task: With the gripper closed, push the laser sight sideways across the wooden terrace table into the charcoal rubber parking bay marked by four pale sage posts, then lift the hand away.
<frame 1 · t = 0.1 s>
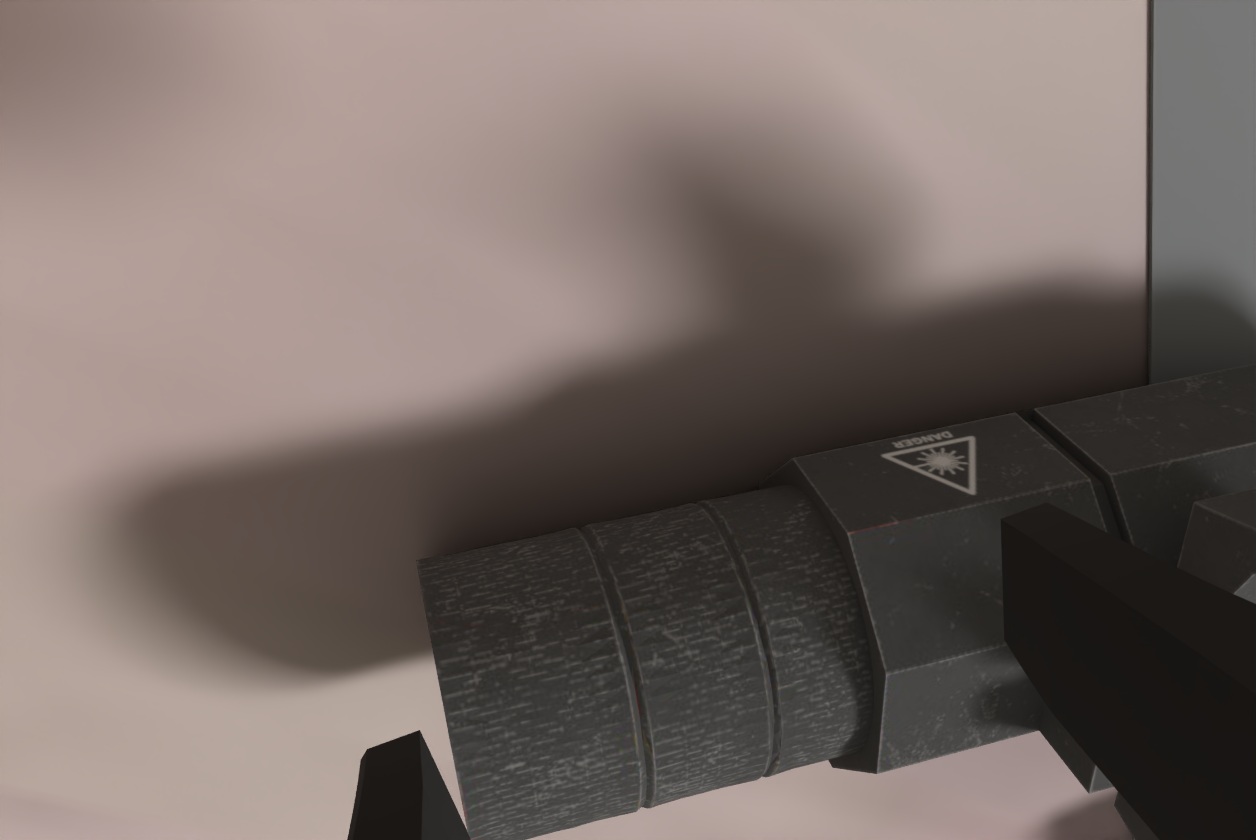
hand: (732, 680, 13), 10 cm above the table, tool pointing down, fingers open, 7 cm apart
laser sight: (900, 492, 26), on the table, touching bay
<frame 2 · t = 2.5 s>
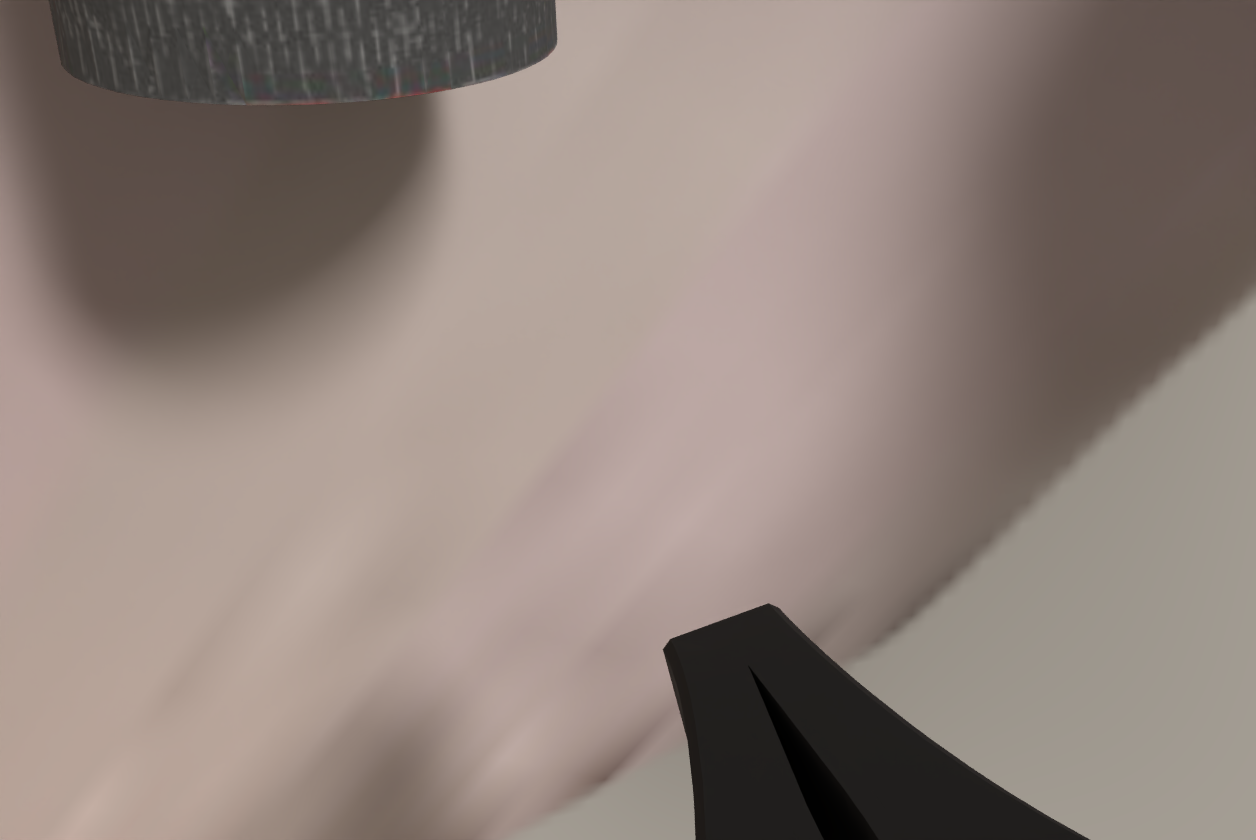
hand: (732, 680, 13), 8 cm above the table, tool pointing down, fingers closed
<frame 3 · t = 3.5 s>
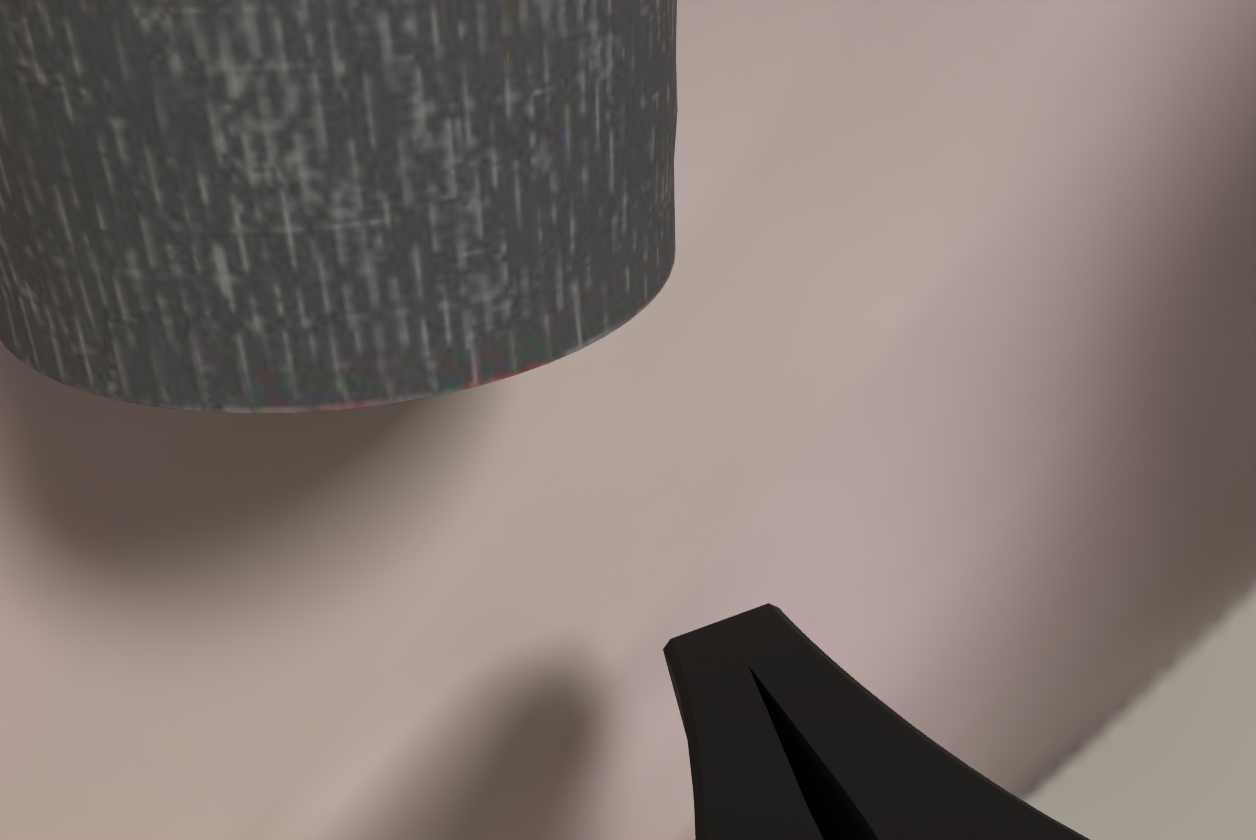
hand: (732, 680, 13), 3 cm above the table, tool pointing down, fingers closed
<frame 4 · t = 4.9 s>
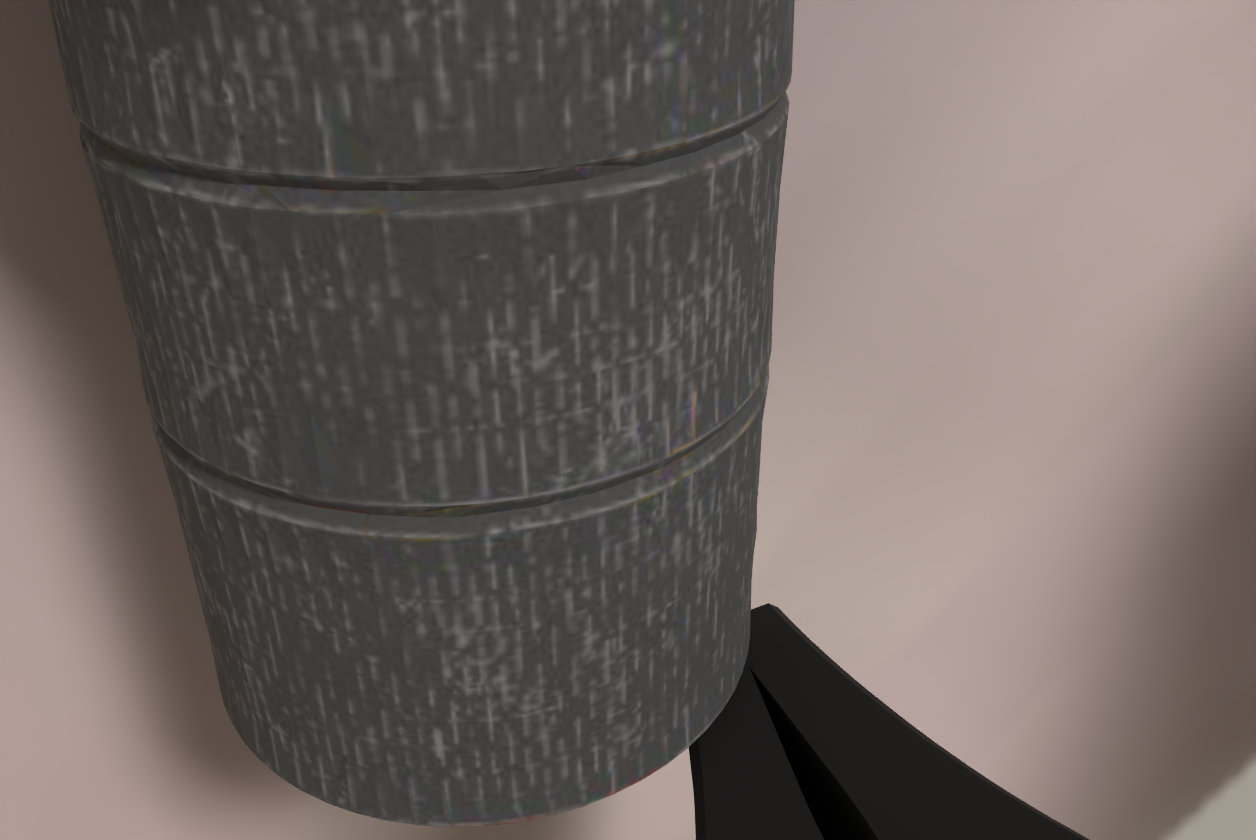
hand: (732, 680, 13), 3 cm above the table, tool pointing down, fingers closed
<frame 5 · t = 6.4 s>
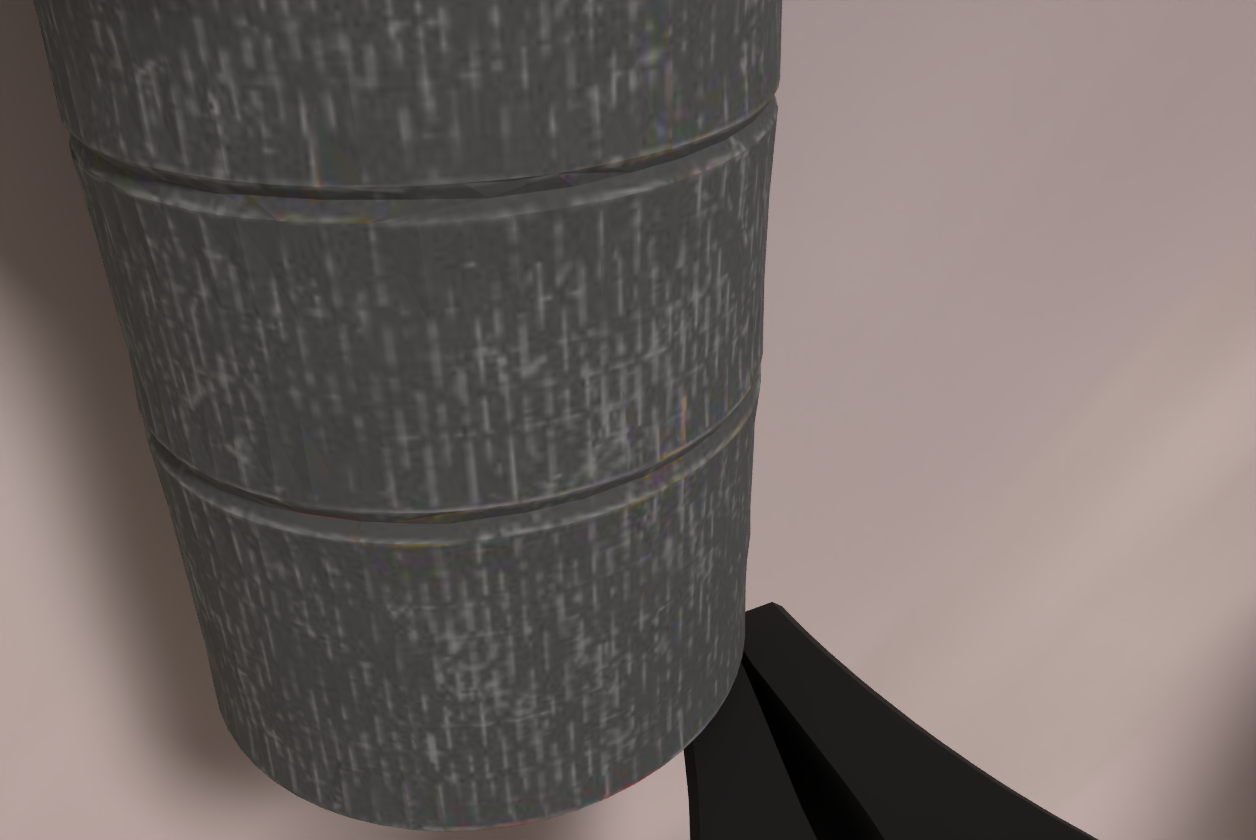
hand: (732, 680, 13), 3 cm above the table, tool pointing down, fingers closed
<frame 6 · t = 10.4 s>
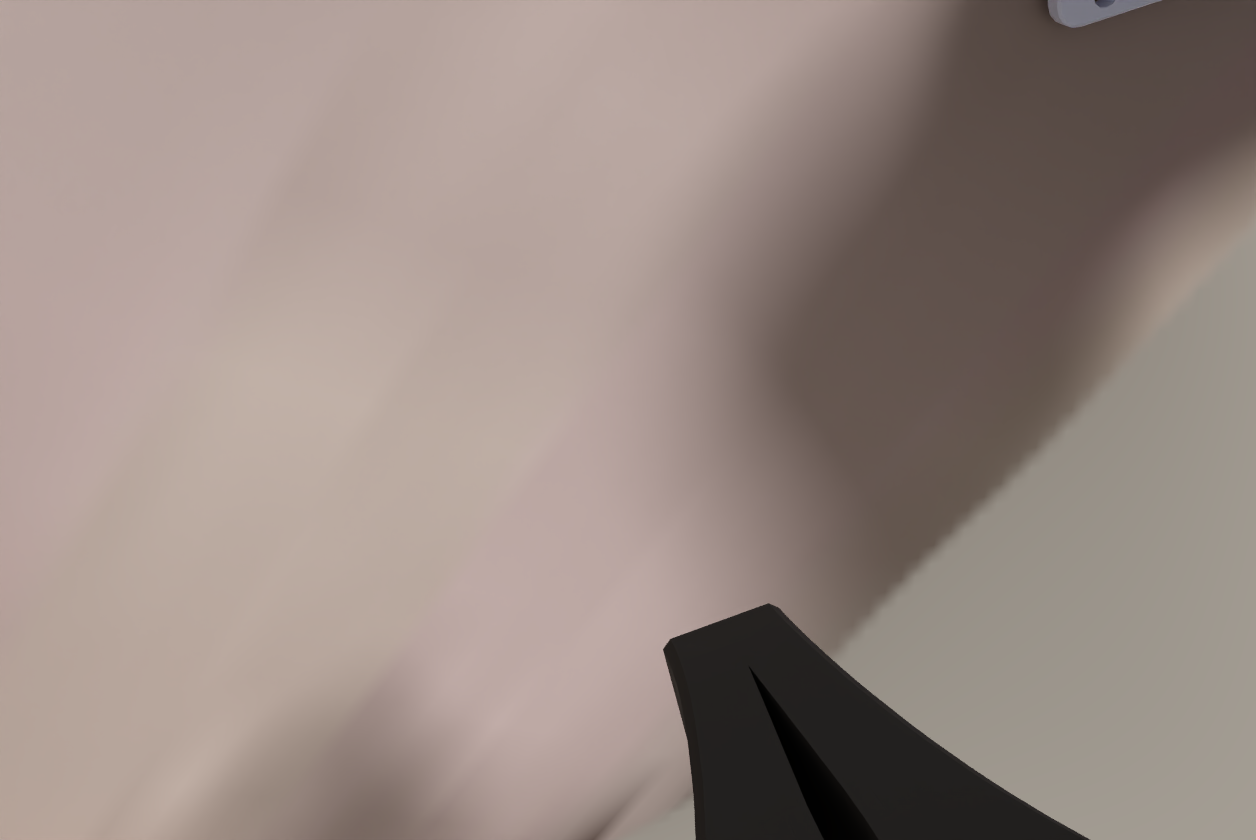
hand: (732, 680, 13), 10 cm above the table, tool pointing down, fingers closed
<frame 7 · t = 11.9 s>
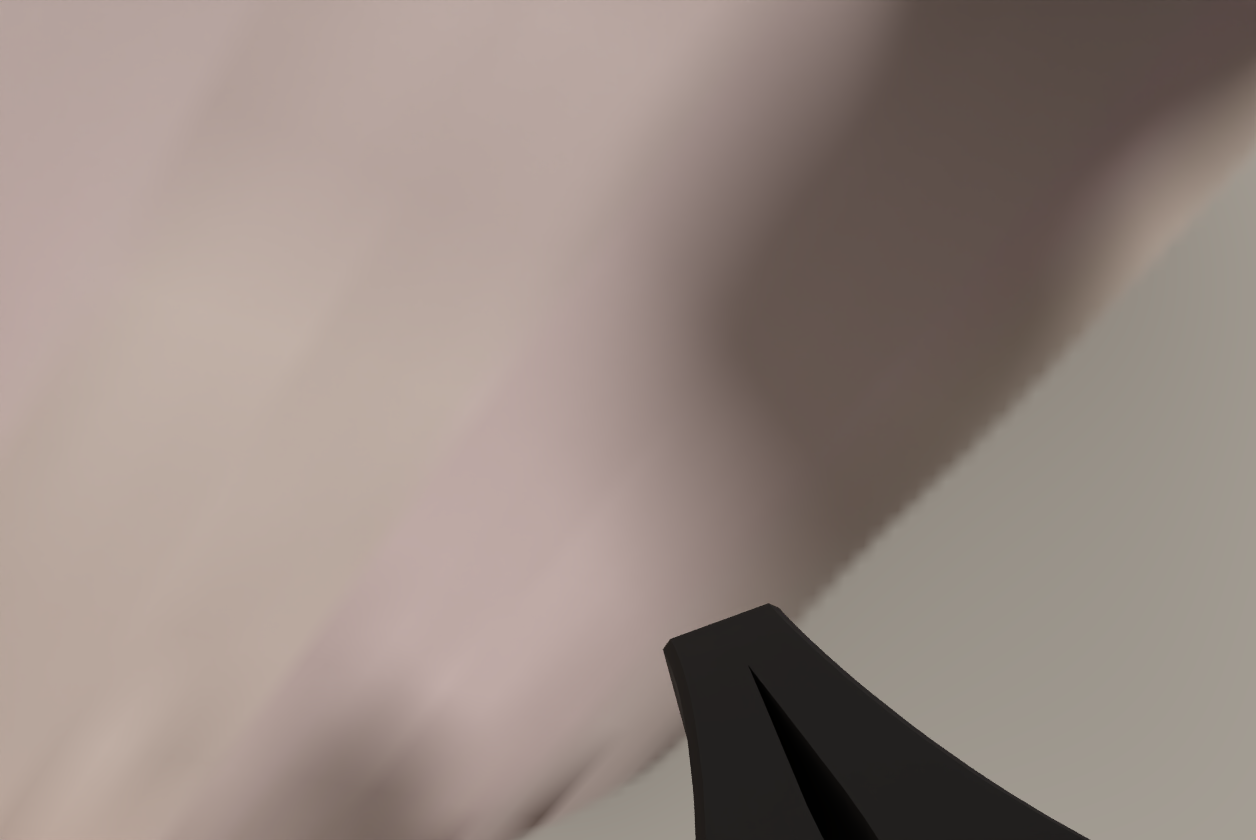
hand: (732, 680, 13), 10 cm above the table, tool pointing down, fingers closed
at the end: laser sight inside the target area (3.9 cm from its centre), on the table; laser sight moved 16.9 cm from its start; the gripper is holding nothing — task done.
